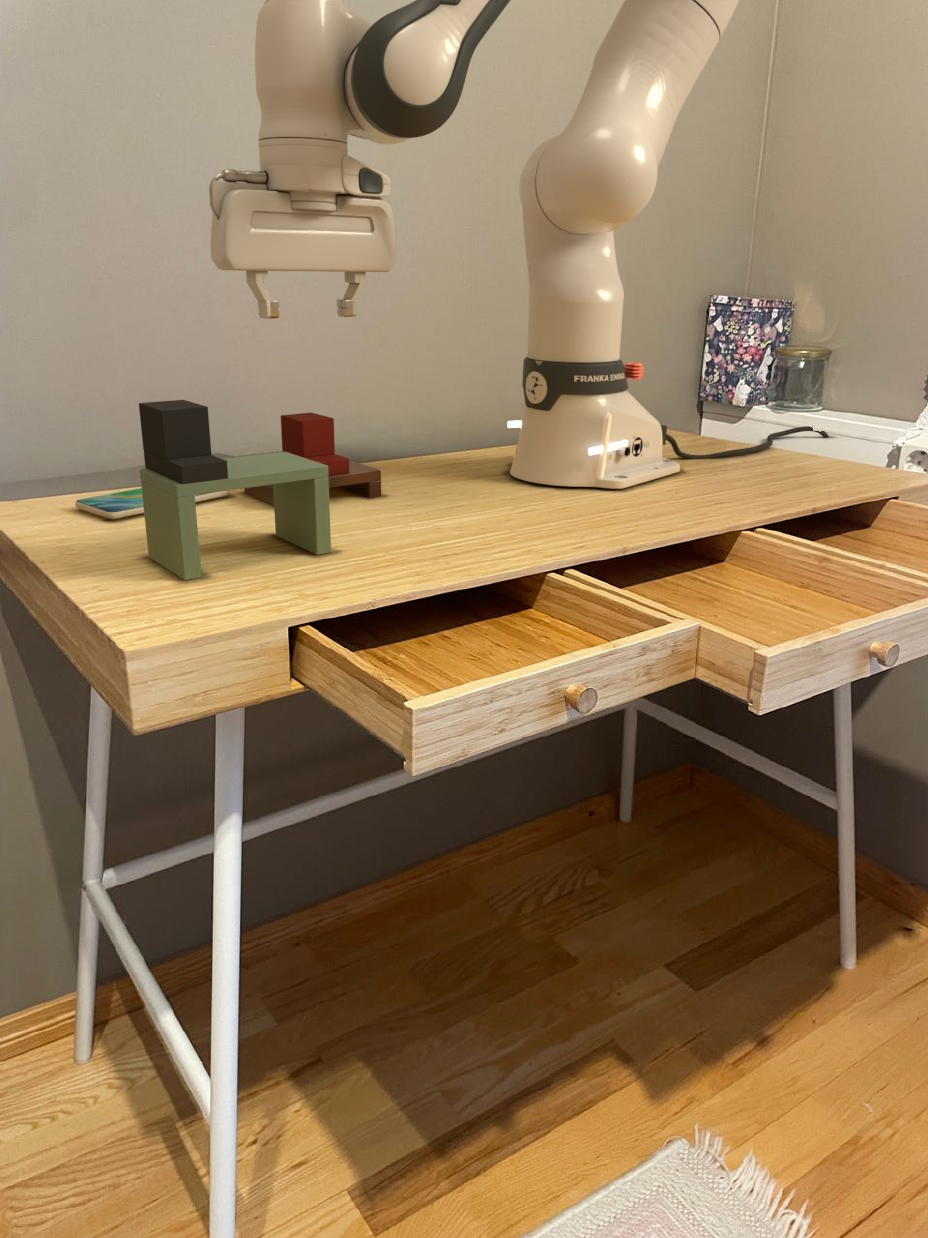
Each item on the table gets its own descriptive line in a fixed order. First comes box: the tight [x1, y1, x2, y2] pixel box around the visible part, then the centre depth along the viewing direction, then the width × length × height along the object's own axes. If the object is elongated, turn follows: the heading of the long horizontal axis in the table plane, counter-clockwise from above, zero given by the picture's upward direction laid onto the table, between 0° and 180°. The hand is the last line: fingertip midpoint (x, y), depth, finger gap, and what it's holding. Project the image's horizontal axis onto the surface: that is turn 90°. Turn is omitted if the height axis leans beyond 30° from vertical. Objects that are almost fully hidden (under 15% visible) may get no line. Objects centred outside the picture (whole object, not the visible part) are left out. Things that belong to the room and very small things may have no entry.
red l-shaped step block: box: [280, 412, 350, 475], centre depth 108 cm, size 4×8×6 cm, turn 38°
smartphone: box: [74, 487, 230, 520], centre depth 104 cm, size 7×1×15 cm
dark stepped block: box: [138, 399, 228, 484], centre depth 81 cm, size 4×8×6 cm, turn 38°
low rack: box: [243, 459, 382, 506], centre depth 109 cm, size 12×10×3 cm
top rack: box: [139, 451, 332, 581], centre depth 86 cm, size 14×8×8 cm, turn 128°
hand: (309, 317), depth 103 cm, fingers open, 8 cm apart
